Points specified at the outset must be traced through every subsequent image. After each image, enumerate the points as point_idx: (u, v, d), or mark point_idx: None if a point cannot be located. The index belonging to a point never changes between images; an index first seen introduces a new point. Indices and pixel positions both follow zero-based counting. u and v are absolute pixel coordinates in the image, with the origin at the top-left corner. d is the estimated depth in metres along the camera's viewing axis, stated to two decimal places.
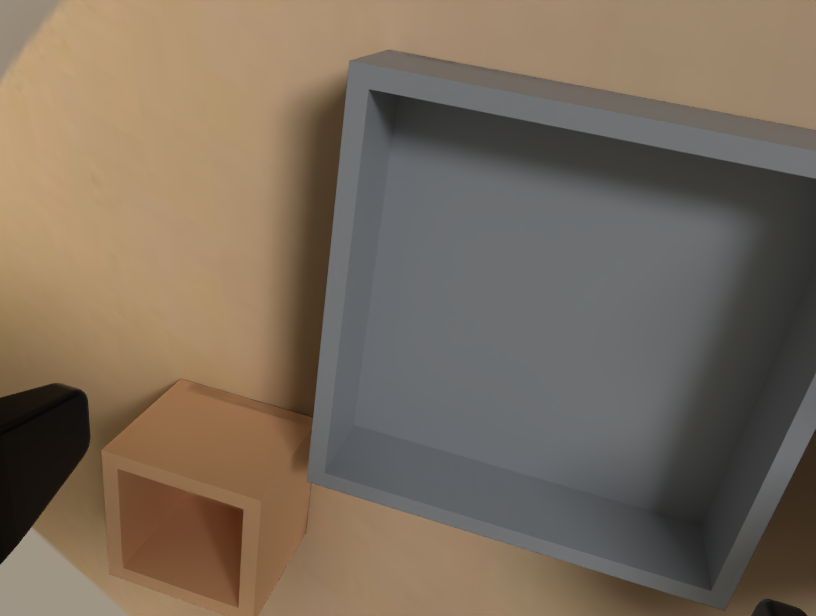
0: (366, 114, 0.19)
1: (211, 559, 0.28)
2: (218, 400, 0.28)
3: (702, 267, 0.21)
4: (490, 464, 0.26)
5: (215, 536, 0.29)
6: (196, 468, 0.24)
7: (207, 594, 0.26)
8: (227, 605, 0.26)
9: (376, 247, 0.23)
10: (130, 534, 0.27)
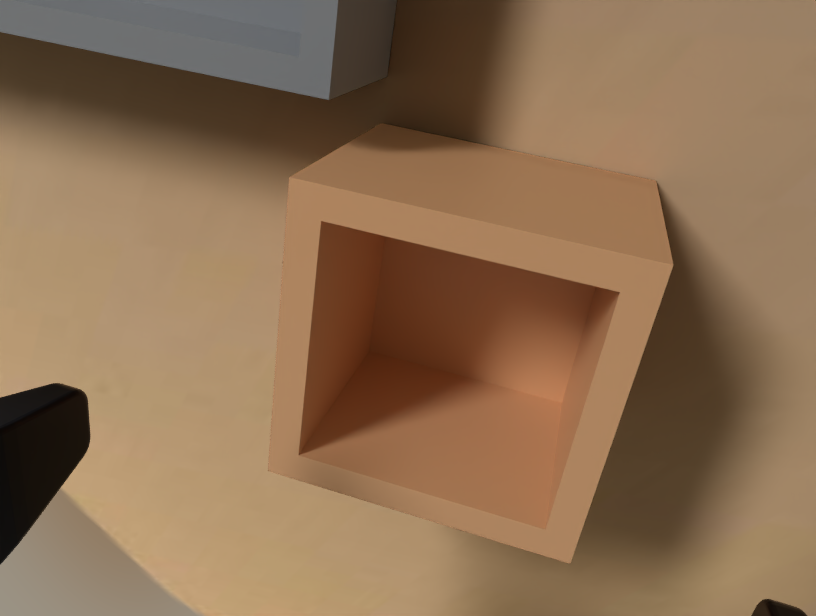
0: None
1: (589, 355, 0.13)
2: None
3: None
4: None
5: (585, 349, 0.14)
6: None
7: (596, 363, 0.11)
8: (615, 318, 0.11)
9: None
10: (486, 491, 0.13)
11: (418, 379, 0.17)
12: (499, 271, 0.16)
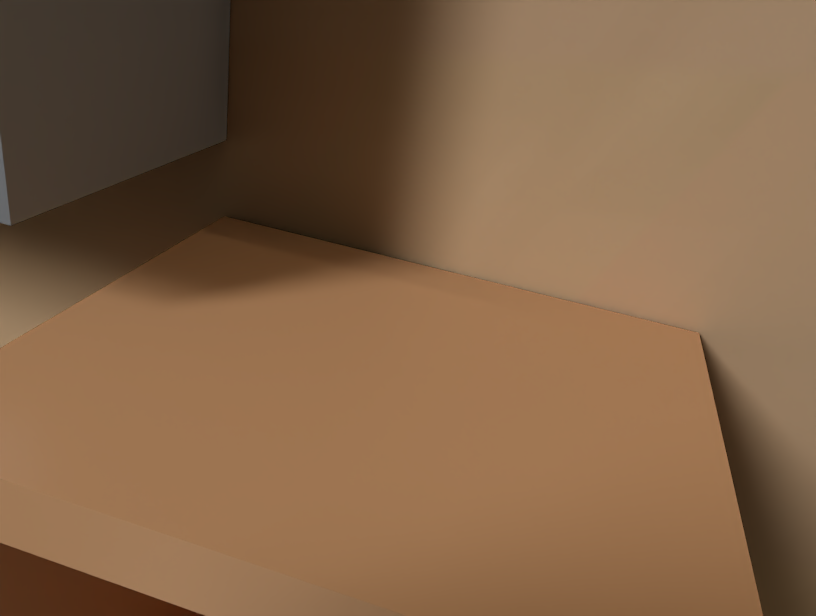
0: None
1: None
2: None
3: None
4: None
5: None
6: None
7: None
8: None
9: None
10: None
11: None
12: None
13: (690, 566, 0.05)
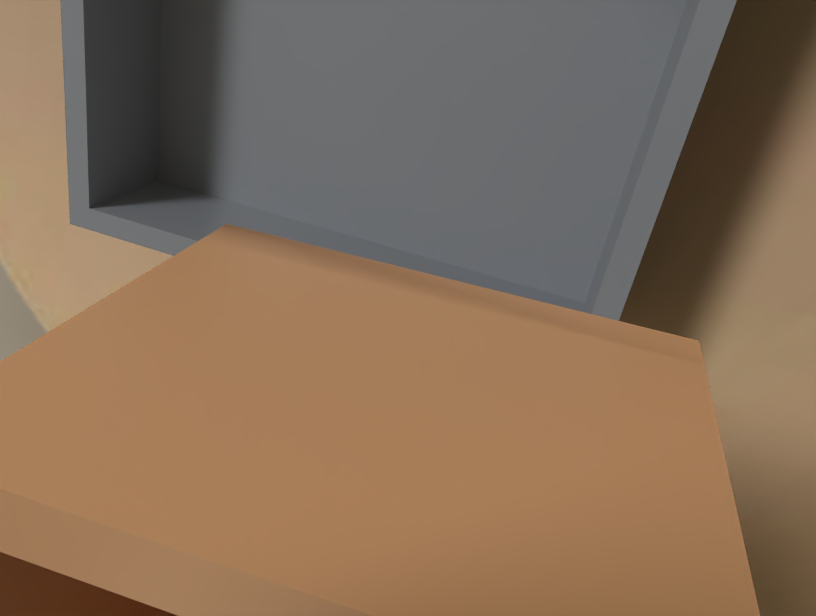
0: (112, 214, 0.18)
1: None
2: None
3: None
4: (653, 101, 0.16)
5: None
6: None
7: None
8: None
9: (327, 230, 0.20)
10: None
11: None
12: None
13: (690, 578, 0.05)
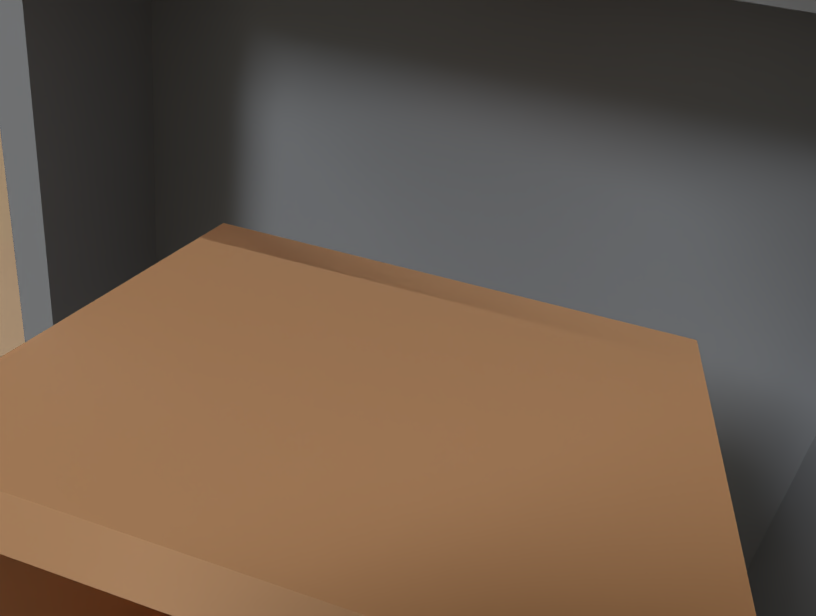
0: None
1: None
2: None
3: (343, 126, 0.12)
4: (791, 482, 0.13)
5: None
6: None
7: None
8: None
9: None
10: None
11: None
12: None
13: (686, 577, 0.05)
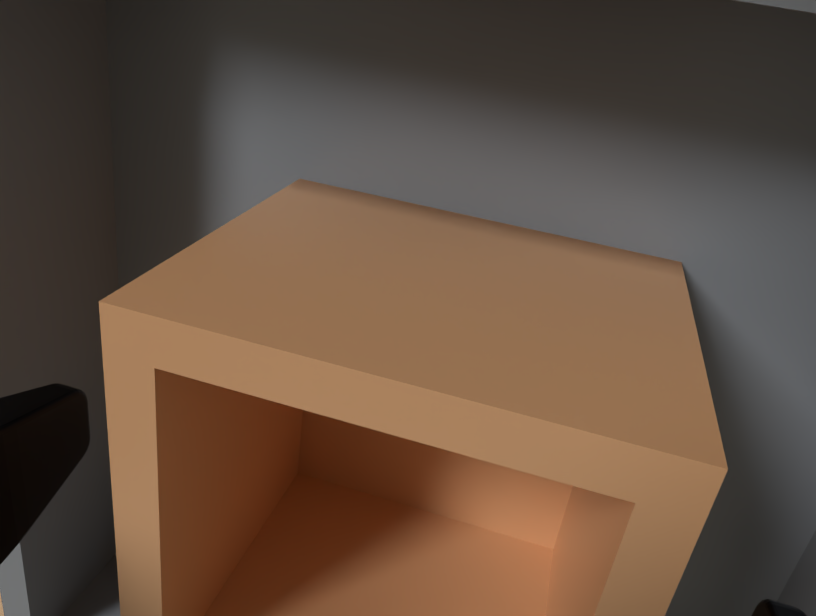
0: None
1: (586, 541, 0.09)
2: None
3: (318, 143, 0.11)
4: (813, 534, 0.11)
5: (582, 509, 0.10)
6: None
7: (597, 596, 0.07)
8: (628, 541, 0.06)
9: None
10: None
11: (359, 519, 0.12)
12: None
13: (667, 388, 0.07)
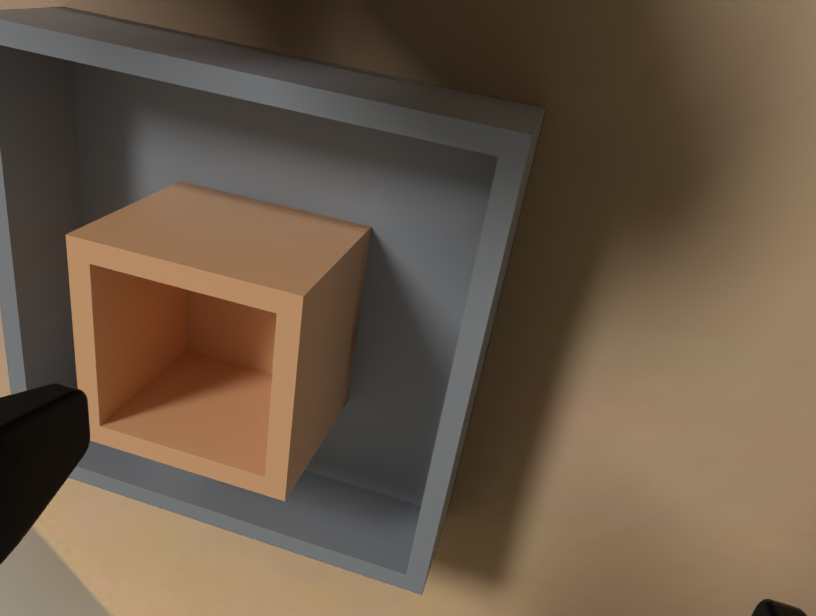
0: None
1: None
2: None
3: (188, 162, 0.21)
4: None
5: None
6: None
7: (275, 360, 0.17)
8: (277, 330, 0.16)
9: None
10: (232, 451, 0.19)
11: (217, 372, 0.22)
12: None
13: (304, 273, 0.17)
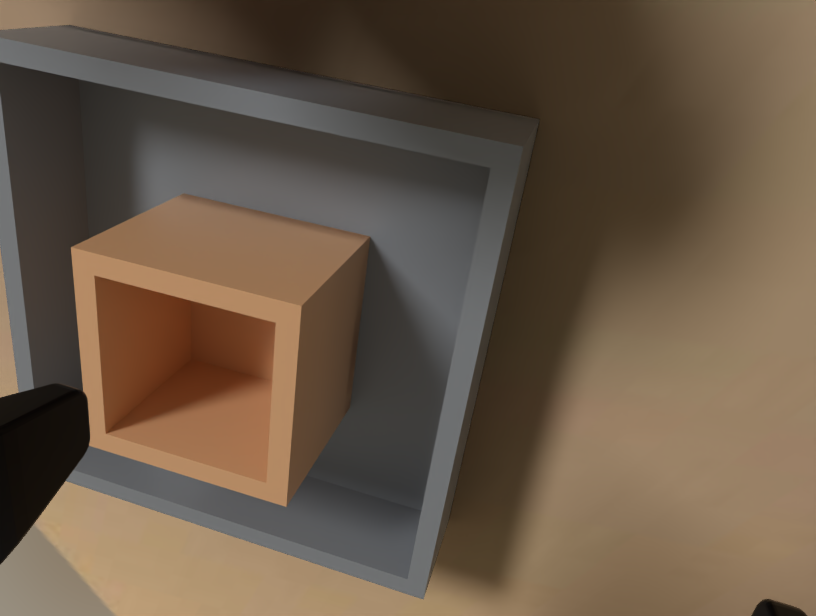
0: None
1: None
2: None
3: (191, 174, 0.21)
4: None
5: None
6: None
7: (275, 368, 0.17)
8: (276, 339, 0.16)
9: None
10: (235, 458, 0.19)
11: (221, 380, 0.22)
12: None
13: (303, 283, 0.17)
